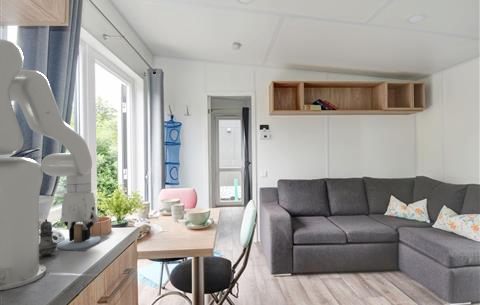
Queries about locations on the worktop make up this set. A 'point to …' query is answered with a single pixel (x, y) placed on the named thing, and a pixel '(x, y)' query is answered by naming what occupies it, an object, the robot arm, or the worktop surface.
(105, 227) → the bowl
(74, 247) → the lid
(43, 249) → the grey stone tower figurine
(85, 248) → the mat
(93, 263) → the worktop surface
